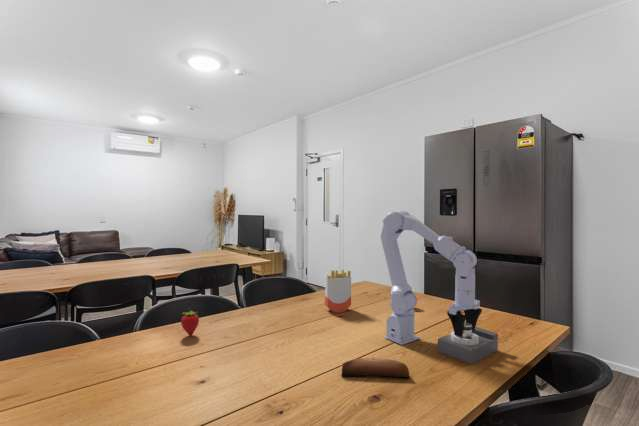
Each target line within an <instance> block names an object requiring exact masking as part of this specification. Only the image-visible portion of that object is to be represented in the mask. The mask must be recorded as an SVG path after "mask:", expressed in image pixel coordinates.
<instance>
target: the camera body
mask: <svg viewBox="0 0 639 426" xmlns="http://www.w3.org/2000/svg"><path fill="white" fill-rule="evenodd" d="M498 341H499V333H498V332H494V331H491V330H489V329H488V330H487V329H484V328H480V327H477V326H475V330H474V331H472V339H464V338H460V337H457V335H455V333H454V330H452V331H451V332H450V333H448V334H446V335H444V336H441V337H439V338H437V352H438V353H441V354H443V355H445V356H448V357H451V358H453V359H457V360H459V361H461V362H464V363H466V364H469V365H473V364H475V363H477V362H478V361H480V360H482V359H484V358H486V357H488V356H490V355H492V354H494V353H496V352H498V349H499V343H498Z"/></svg>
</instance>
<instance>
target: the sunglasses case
mask: <svg viewBox="0 0 639 426" xmlns="http://www.w3.org/2000/svg"><path fill="white" fill-rule="evenodd" d="M341 376H342V377H354V376H355V377H357V376H371V377H372V376H375V377H383V376H384V377H397V378H398V377H400V378H407V379H410V370H409V368H408V366H407V364H406V363H404V362H401V361H398V360H394V359H390V358H374V357H372V358H367V357H366V358H365V357H361V358H354V359H351V360H348V361H345V362H343V363H342V368H341Z"/></svg>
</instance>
